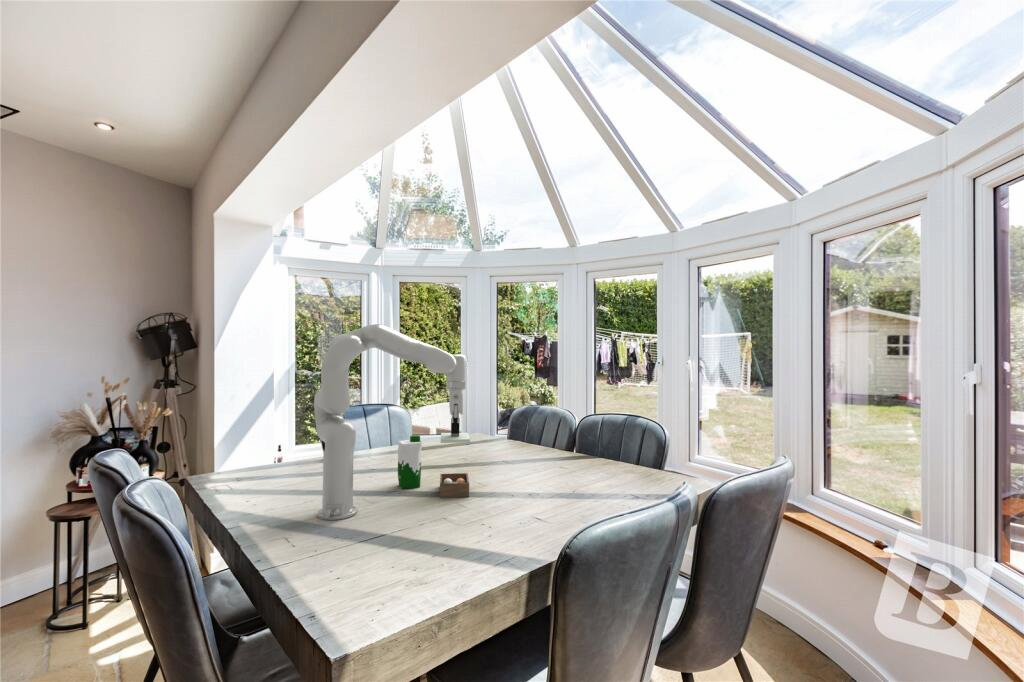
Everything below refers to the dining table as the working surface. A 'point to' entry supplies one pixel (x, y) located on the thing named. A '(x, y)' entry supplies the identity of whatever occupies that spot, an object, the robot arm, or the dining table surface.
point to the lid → (455, 437)
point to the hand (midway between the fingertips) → (455, 432)
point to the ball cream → (447, 481)
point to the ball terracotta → (460, 480)
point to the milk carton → (409, 462)
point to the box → (454, 485)
